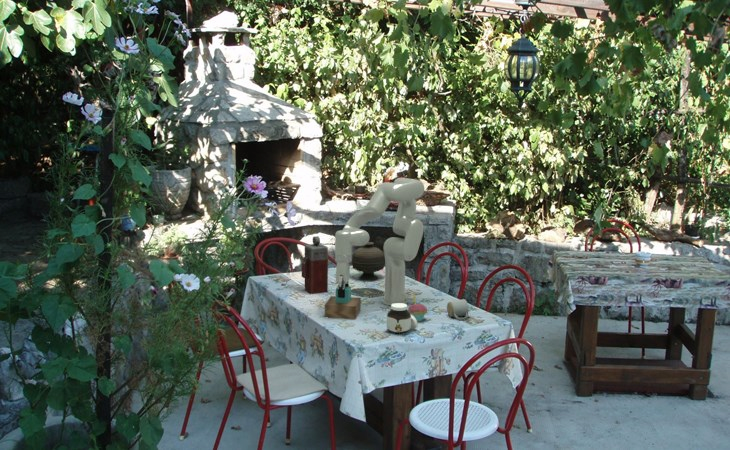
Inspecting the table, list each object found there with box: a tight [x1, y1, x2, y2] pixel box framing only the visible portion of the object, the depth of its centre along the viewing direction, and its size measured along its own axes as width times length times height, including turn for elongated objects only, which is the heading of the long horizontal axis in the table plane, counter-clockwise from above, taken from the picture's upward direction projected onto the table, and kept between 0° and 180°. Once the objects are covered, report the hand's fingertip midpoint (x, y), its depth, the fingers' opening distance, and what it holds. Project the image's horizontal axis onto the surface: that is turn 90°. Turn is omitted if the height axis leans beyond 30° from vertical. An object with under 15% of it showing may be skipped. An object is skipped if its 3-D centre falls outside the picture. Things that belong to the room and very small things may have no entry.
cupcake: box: [407, 294, 428, 322], centre depth 345 cm, size 9×8×12 cm
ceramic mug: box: [446, 298, 470, 321], centre depth 350 cm, size 11×8×8 cm
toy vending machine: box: [301, 235, 329, 295], centre depth 388 cm, size 9×11×28 cm
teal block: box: [335, 286, 352, 303], centre depth 351 cm, size 6×6×6 cm
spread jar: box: [386, 303, 419, 335], centre depth 329 cm, size 12×11×12 cm
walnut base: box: [324, 295, 362, 320], centre depth 353 cm, size 14×14×6 cm
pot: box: [351, 241, 385, 282], centre depth 415 cm, size 18×18×20 cm
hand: (343, 294), depth 351 cm, fingers open, 9 cm apart
